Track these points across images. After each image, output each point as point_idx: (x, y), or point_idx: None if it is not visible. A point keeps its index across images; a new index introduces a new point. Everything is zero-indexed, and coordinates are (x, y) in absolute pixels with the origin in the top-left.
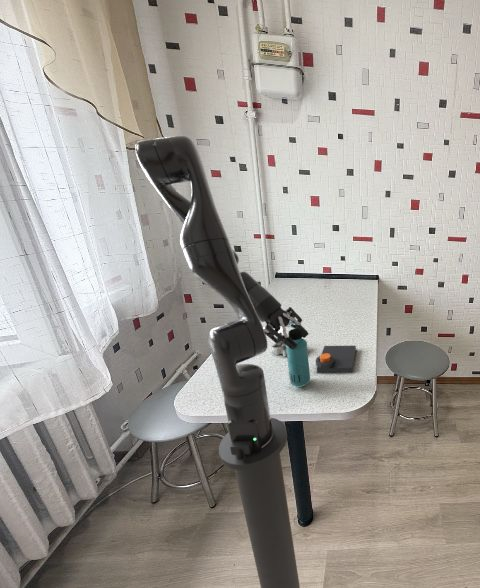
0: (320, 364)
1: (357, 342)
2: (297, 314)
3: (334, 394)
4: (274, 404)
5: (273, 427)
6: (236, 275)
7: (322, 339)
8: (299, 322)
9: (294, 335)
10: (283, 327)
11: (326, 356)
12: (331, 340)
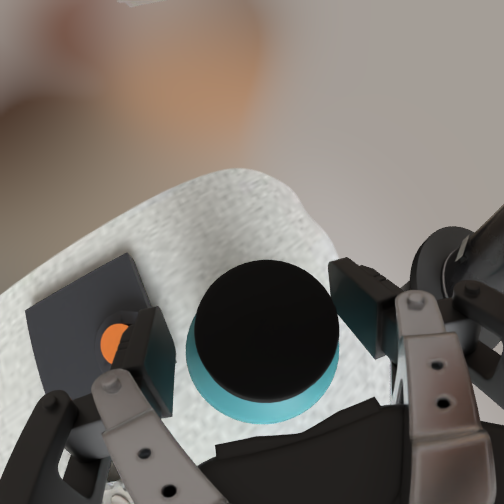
0: None
1: (7, 330)
2: (11, 455)
3: (248, 243)
4: (373, 365)
5: (435, 277)
6: None
7: None
8: (97, 390)
9: (320, 287)
10: (437, 349)
11: (119, 337)
12: (19, 414)
